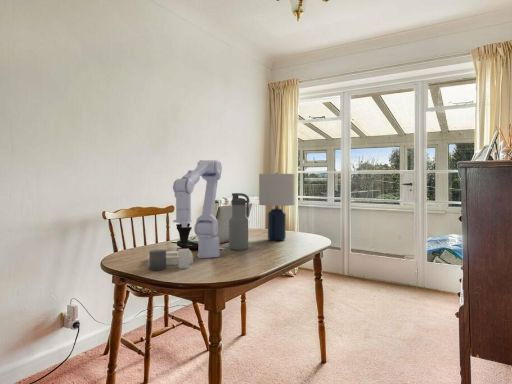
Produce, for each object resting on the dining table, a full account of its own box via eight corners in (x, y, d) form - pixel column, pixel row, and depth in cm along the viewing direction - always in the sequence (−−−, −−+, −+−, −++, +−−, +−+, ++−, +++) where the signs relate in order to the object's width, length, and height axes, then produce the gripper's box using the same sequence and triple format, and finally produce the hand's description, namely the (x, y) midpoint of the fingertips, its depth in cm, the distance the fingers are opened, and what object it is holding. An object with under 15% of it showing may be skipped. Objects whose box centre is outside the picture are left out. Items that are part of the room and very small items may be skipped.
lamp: (272, 244, 182) (273, 172, 181) (252, 239, 199) (252, 172, 198) (301, 240, 194) (302, 172, 192) (279, 235, 210) (280, 172, 209)
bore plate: (190, 257, 153) (190, 250, 153) (193, 263, 142) (192, 256, 142) (149, 259, 149) (149, 252, 149) (147, 266, 137) (147, 258, 137)
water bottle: (248, 246, 178) (248, 192, 177) (250, 250, 168) (250, 193, 167) (228, 246, 177) (228, 192, 175) (229, 250, 167) (229, 193, 166)
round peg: (166, 266, 137) (166, 249, 137) (166, 270, 131) (166, 252, 131) (149, 267, 136) (149, 250, 135) (148, 271, 129) (148, 253, 129)
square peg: (188, 265, 138) (188, 248, 138) (189, 268, 134) (189, 250, 134) (178, 266, 137) (178, 249, 137) (178, 268, 133) (178, 251, 133)
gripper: (172, 207, 141) (172, 240, 141) (173, 210, 127) (173, 247, 127) (190, 207, 143) (190, 239, 143) (192, 210, 129) (192, 246, 129)
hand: (183, 243), depth 135 cm, fingers open, 7 cm apart
